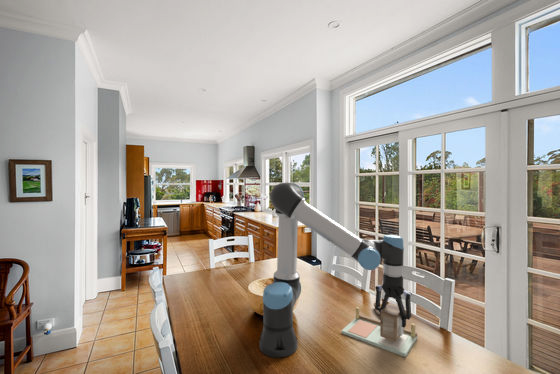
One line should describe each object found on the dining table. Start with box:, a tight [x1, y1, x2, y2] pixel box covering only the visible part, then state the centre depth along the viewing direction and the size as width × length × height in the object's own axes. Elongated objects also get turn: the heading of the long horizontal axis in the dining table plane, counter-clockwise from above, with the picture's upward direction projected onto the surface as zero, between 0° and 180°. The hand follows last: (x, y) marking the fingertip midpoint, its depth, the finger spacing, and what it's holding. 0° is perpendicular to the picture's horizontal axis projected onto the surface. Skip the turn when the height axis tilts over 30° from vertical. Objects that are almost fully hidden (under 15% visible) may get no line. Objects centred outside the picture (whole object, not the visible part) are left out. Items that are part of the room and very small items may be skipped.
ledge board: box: [341, 306, 418, 358], centre depth 115 cm, size 26×16×6 cm, turn 50°
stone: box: [373, 302, 382, 316], centre depth 135 cm, size 5×14×4 cm, turn 4°
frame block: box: [379, 302, 405, 342], centre depth 110 cm, size 10×6×10 cm, turn 140°
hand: (392, 331), depth 111 cm, fingers closed on frame block, 6 cm apart
